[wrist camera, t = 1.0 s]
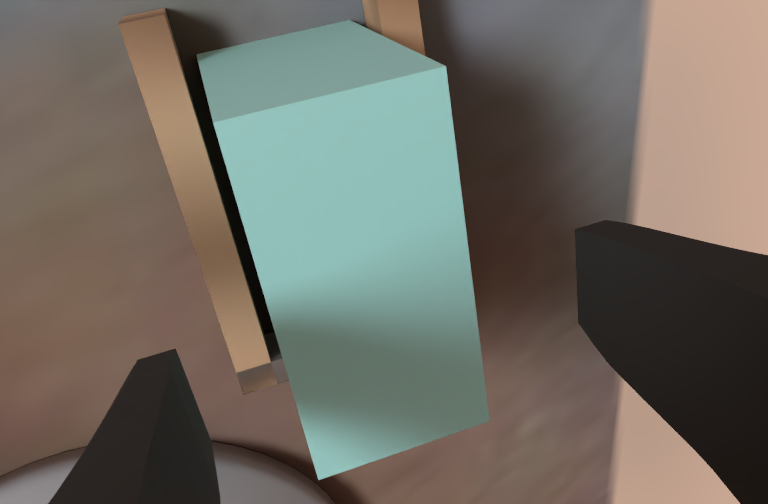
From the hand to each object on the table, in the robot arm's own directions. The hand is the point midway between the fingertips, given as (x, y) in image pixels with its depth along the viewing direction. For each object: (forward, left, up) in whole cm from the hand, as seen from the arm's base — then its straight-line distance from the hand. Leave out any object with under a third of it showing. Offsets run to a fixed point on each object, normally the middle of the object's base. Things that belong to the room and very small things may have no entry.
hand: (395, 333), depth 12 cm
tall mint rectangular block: (0, 0, -8) cm, 8 cm away
